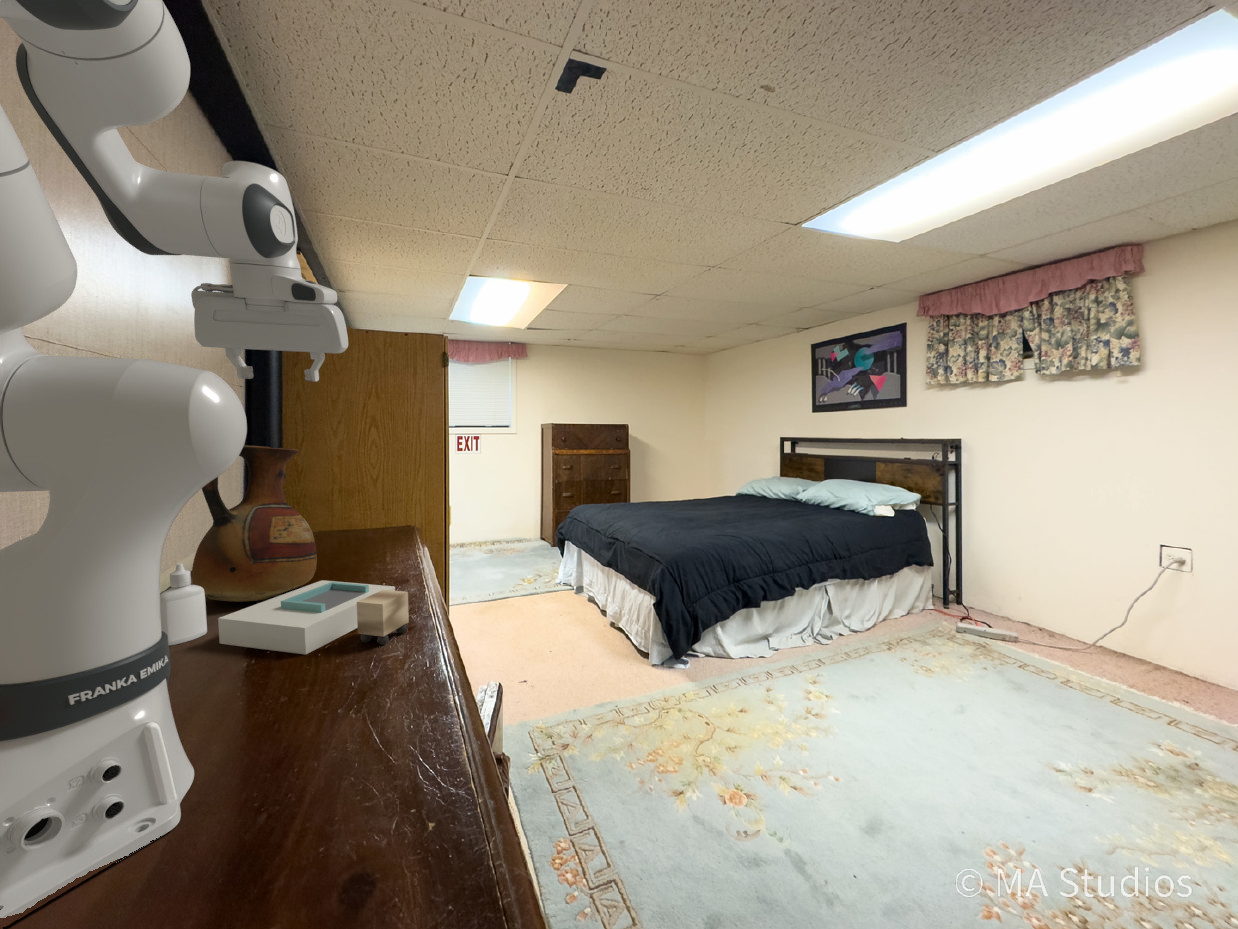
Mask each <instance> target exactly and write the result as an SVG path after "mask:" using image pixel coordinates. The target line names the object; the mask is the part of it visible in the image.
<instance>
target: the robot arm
mask: <svg viewBox="0 0 1238 929" xmlns="http://www.w3.org/2000/svg"><path fill="white" fill-rule="evenodd" d="M0 19H3V20H4V21H5V22H6V23H7V25H8V26H9V27H10V29H11V30H12V31H13V32H14V33H15V35H16V36H17V37H18V39H19V40H20V41H21V43H20V44H19V46H18V48H17V50H16V54H15V67H16V72H17V75H18V78H19V82H20V84H21V87H22V89H23V91H24V93H25V94H26V97H27V99H28V100H29V102H30V104H31V105H32V107H33V109H34V110H35V112H36V113H37V115H38V117H40V119H41V121H42V123H43V124H44V125H45V127H46V128H47V129H48V131H49V132H50V134H51V135H52V136H53V138H54V139H55V141H56V142H57V143H58V145H59V146H60V148H61V149H62V150H63V152H64V153H65V155H66V156H67V157H68V159H69V160H70V162H71V163H72V164H73V166H74V167H75V169H76V170H77V171H78V173H79V174H80V175H81V176H82V178H83V180H84V181H85V182H86V183H87V186H89V188H90V189H91V190H92V192H93V193H94V194H95V196H96V197H97V200H98V201H99V203H100V206H101V207H102V210H103V212H104V214H105V217H106V219H107V221H108V222H109V224H110V225H111V227H112V228H113V230H114V231H115V232H116V233H117V235H119V236H120V237H121V238H122V239H123V240H124V241H126V242H127V243H128V244H130V245H131V246H132V247H133V248H135V249H136V250H138V251H140V252H141V253H143V254H145V255H148V256H195V257H204V258H205V257H206V258H208V257H209V258H218V259H228V261H229V268H230V275H231V276H230V277H231V282H232V284H225V283H224V284H223V283H222V284H221V283H220V284H217V283H215V284H214V283H210V282H203V283H201V284H200V285H198V286H196V287H194V288H193V289H192V291H191V293H190V294H191V302H192V306H193V309H194V318H193V319H194V320H193V321H194V337H195V340H196V342H197V343H199V345H200V346H201V347H204V348H215V349H216V348H217V349H219V348H220V349H224V350H225V356H226V357H227V358H228V360H229V361H230V363H232V365H233V366H234V368H236V372H237V374H236V375H237V377H238V379H241V380H242V379H245V380H247V379H248V380H251V379H253V378H255V377H254V369H253V366H249V365H247V364H246V363H245V361H244V359H242V357H241V356H242V355H243V354H244V351H243V350H260V351H282V352H298V353H299V352H300V353H303V352H304V353H309V355H310V359H311V360H314V361H313V363H312V364H311V367H310V368H308V369H304V370H303V372H304V375H305V376H304V380H305V381H306V382H318V381H319V380H320V374H319V370H320V368H321V367H322V365H323V363H324V362H325V359H326V356H325V355H326V354H342V353H345V351H346V350H347V349H348V347H349V337H348V332H347V331H348V330H347V325H346V321H345V316H344V314H343V312H342V311H341V309H340V308H339V307H338V306H337V305H334V304H336V303H337V302H338V293H337V291H336V290H334V289H332V288H330V287H327V286H325V285H321V284H319V283H316V282H314V281H312V280H307V279H305V278H303V277H302V276H303V275H302V268H301V265H300V261H299V260H298V256H297V255H298V254H297V244H298V242H299V241H298V240H299V237H298V227H297V220H296V215H295V214H296V213H295V208H294V205H293V200H292V196H291V193H290V189H289V185H288V183H287V180H286V178H285V177H284V175H282V174H281V173H280V172H278V171H277V170H275V169H273V168H272V167H269V166H266V165H263V164H261V163H258V162H253V161H247V160H230V161H227V162H225V163H224V164H223V166H222V170H221V171H222V172H221V175H220V176H213V175H211V176H210V175H209V176H208V175H202V174H201V175H200V174H192V173H183V172H176V171H175V172H174V171H166V170H162V169H157V168H154V167H150V166H147V165H145V164H142V163H140V162H139V161H136V160H135V159H134V157H133V155H132V153H131V152H130V150H129V148H128V146H127V145H126V143H125V141H124V140H123V138H122V136H121V135H120V132H119V131H118V129H121V128H128V127H139V126H144V125H148V124H151V123H154V122H155V123H156V122H157V121H159V120H161V119H162V118H163V119H164V117H166V116H168V115H169V114H170V113H172V112H173V111H174V110H175V109H176V108H177V107H178V106H179V105H180V103H181V102H182V101H183V99H184V97H185V96H186V94H187V91H188V89H189V85H190V81H191V80H190V78H191V62H190V58H189V55H188V54H189V53H188V52H187V48H186V44H185V41H184V40H183V37H182V35H181V33H180V31H179V29H178V26H177V25H176V23H175V20H174V18H173V17H172V15H171V13H170V11H169V9H168V8H167V6H166V5H165V2H164V1H163V0H0ZM77 280H78V264H77V261H76V258H75V256H74V254H73V252H72V249H71V247H70V246H69V243H68V241H67V239H66V236H65V235H64V232H63V231H62V228H61V226H60V223H59V222H58V219H57V216H56V215H55V213H54V211H53V209H52V206H51V204H50V202H49V200H48V199H47V196H46V194H45V192H44V189H43V187H42V185H41V183H40V181H39V179H38V177H37V175H36V172H35V170H34V168H33V166H32V163H31V161H30V159H29V157H28V155H27V152H26V151H25V149H24V147H23V144H22V143H21V140H20V138H19V136H18V134H17V132H16V130H15V128H14V126H13V124H12V123H11V120H10V119H9V117H8V115H7V113H6V110H4V108H3V106H2V104H1V103H0V493H12V492H13V493H14V492H15V493H17V492H18V493H19V492H20V493H21V492H42V491H43V492H45V491H46V492H48V493H49V504H48V510H47V513H46V515H45V518H44V521H43V523H42V524H41V526H40V528H39V529H38V531H37V532H36V533H33V534H31V535H29V536H26V537H24V538H22V539H19V540H17V541H15V542H13V543H11V544H9V545H7V546H5V547H4V548H1V549H0V909H1V910H0V918H6V917H7V916H12V915H15V914H19V913H23V912H24V911H25V910H26V909H27V908H31V907H32V906H34V905H35V904H36V903H37V902H38V901H40V900H42V899H44V898H46V897H47V896H48V895H51V894H53V893H55V892H56V891H57V890H58V889H61V888H62V887H64V886H66V885H67V884H68V883H71V882H73V881H74V880H75V879H76V878H79V877H82V876H84V875H86V874H87V873H88V872H89V871H93V870H95V869H98V868H99V867H102V866H104V865H107V864H109V863H110V862H113V861H115V860H117V859H120V858H123V857H124V856H127V857H129V856H130V855H131V854H130V853H132V852H133V853H135V852H137V851H139V850H140V849H142V848H144V847H145V846H147V845H149V844H151V842H150V841H152V840H154V841H155V840H157V839H160V838H161V837H163V836H164V835H166V834H167V833H168V832H170V831H172V830H173V829H174V828H176V827H177V826H178V824H179V823H180V821H181V817H182V812H181V811H182V810H181V803H182V800H183V799H184V798H185V796H186V795H187V792H188V791H189V789H190V788H191V786H192V784H193V782H194V778H195V769H194V767H193V765H192V763H191V761H190V760H189V758H188V756H187V753H186V752H185V750H184V746H183V745H182V742H181V739H180V736H179V734H178V729H177V726H176V723H175V718H174V715H173V711H172V706H171V700H170V694H169V690H168V684H169V679H170V675H171V671H172V670H171V669H172V668H171V656H170V655H171V654H170V646H169V645H168V636H167V634H166V633H165V632H164V631H161V616H160V594H161V565H162V556H163V550H164V548H165V544H166V539H167V537H168V535H169V533H170V530H171V528H172V526H173V525H174V522H175V520H176V518H177V517H178V515H179V514H180V513H181V511H182V510H183V508H184V507H185V505H187V503H188V502H189V501H190V500H191V499H192V498H193V497H194V496H195V495H196V494H197V493H199V491H200V490H202V488H203V487H204V486H205V485H207V484H208V483H209V482H211V481H212V480H214V479H215V478H217V477H218V478H219V477H220V476H221V475H223V474H224V473H225V472H226V471H228V469H229V468H231V467H232V465H233V464H234V463H235V462H236V460H238V458H239V457H240V456H239V454H240V453H241V450H242V448H243V446H244V445H245V443H246V439H247V434H248V423H247V422H248V421H247V416H246V411H245V408H244V407H243V404H242V401H241V400H240V398H239V396H238V395H237V393H236V392H235V391H234V390H233V388H232V387H231V386H230V384H228V383H227V382H226V381H225V380H224V379H223V378H222V377H221V376H219V375H218V374H217V373H215V372H214V371H210V370H206V369H201V368H196V367H191V366H189V365H188V366H187V365H183V364H177V363H173V362H165V361H161V360H153V359H150V358H149V359H148V358H133V357H132V358H130V357H125V358H123V357H101V356H100V357H99V356H98V357H96V356H75V355H73V356H72V355H71V356H70V355H53V354H51V355H50V354H46V353H45V354H44V353H42V352H39V351H38V350H36V349H35V348H34V347H32V345H31V344H29V341H27V338H26V337H25V335H24V332H23V327H25V326H27V325H30V324H32V323H34V322H37V321H38V320H42V319H43V318H46V317H47V316H49V315H50V314H52V313H54V312H55V311H57V310H58V309H60V308H61V307H62V306H63V305H64V304H65V303H66V302H67V301H68V300H69V299H71V297H72V295H73V293H74V292H75V291H74V290H75V288H76V285H77ZM325 353H326V354H325ZM160 836H161V837H160ZM156 838H157V839H156ZM152 842H153V841H152ZM143 846H144V847H143ZM141 847H142V848H141ZM139 848H140V849H139ZM138 849H139V850H138ZM136 850H137V851H136ZM134 851H135V852H134ZM133 853H132V854H133ZM129 854H130V855H129ZM123 859H124V858H123Z"/></svg>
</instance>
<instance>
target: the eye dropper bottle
mask: <svg viewBox="0 0 1238 929" xmlns="http://www.w3.org/2000/svg"><path fill="white" fill-rule="evenodd" d="M175 566H176V567H175V570H174V571H173V572H171V573H170V574H169V581H170V588H168V589H166V590H164V591H163V592H162V593H160V616H161V631H164V632H165V633H166V634H167V636H168V645H169V647H171V646H175V645H179V644H184V643H188V642H190V641H194V640H196V639H198V638H201V637H204V636H205V635H206V634H207V633H208V623H207V622H208V621H207V605H206V596H205V592H204V589H203V588H202V587H201V586H197V585H193V584H192V574H191V571H190V570H187V569H185V567H184V564H183V563H176V565H175Z"/></svg>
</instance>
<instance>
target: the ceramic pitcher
mask: <svg viewBox="0 0 1238 929" xmlns="http://www.w3.org/2000/svg"><path fill="white" fill-rule="evenodd" d="M298 453H299V449H294V448H283V447H279V448H278V447H276V448H273V447H270V446H260V445H259V446H258V445H249V444H248V445H245V444H244V446H243V448H242V450H241V453H240V454H239V456H238V457H241V458H242V459H244V461H245V462H246V465H247V470H248V476H247V477H248V478H247V480H248V482H247V488H246V491H245V494H244V496H243V498H242V500H241V501H240V503H238V504H236V505H235V506H233V507H231V508H229V509H228V507H226V506H227V505H226V504H225V503H224V500H223V499H222V497H221V493H220V491H219V476H218V477H217V478H215V479H214V480H212V481H211V482H209V483H208V484H207V485H205V486H204V487H203V488H201V491H202V493H203V497H204V499H205V502H206V504H207V507H208V511H209V513H210V515H211V518H212V521H213V522H212V525H211V527H210V528H209V529H208V531H206V533H205V535H204V536H203V538H202V539H201V541H200V543H199V545H198V547H197V549H196V551H195V554H194V557H193V558H194V559H193V563H192V567H191V583H192V585H197V586H201V587H202V588H203V589H204V592H205V598H208V599H209V600H215V601H222V602H223V601H224V602H235V603H237V602H239V603H240V602H241V603H242V602H259V601H266V600H269V599H271V598H272V597H273V598H274V597H278V596H280V595H282V594H283V593H285V592H288V591H291V590H294V589H297V588H299V587H303V585H305V584H308V583H309V582H310V581H311V580H312V579H313V578H314V575H315V573H316V571H317V570H316V569H317V564H318V563H317V562H318V555H317V554H318V552H317V545H316V539H315V537H314V534H313V531H312V528H311V527H310V525H309V523H308V522H307V521H306V519H305V518H304V517H303V515H301V514H300V513H299V511H298V510H296V509H295V508H294V507H292V506H291V505H290V504H289V503H288V502H287V498H286V495H285V492H284V485H285V483H286V481H287V480H286V479H287V478H286V476H287V475H286V474H287V473H286V466H287V464H288V462H290V460H291V459H292V458H293V457H294V456H296V455H297V454H298Z"/></svg>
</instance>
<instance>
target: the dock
mask: <svg viewBox="0 0 1238 929" xmlns="http://www.w3.org/2000/svg"><path fill="white" fill-rule="evenodd" d="M382 590H392V591H396V586H393V585H392V586H391V585H379V584H369V583H358V582H348V581H347V582H346V581H345V582H344V581H335V580H319V581H316V582H313V583H311V584H308V585H305V586H301V587H300V588H299V587H298V589H297V588H296V589H295V590H294V589H293V590H292V591H291V590H290V591H289V592H288V591H287V592H286V593H284V594H283V593H282V594H281V595H280V594H279V595H277V596H274V597H273V598H272V597H271V598H268V599H266V600H263V601H261V602H257V603H256V604H253V605H250V606H247V607H245V608H241V609H240V610H237V611H234V612H231V613H229V614H226V615H223V616H219V617H217V621H218V637H219V638H218V639H219V644H221V645H227V646H236V647H243V648H253V649H259V650H268V651H275V652H276V651H277V652H281V653H282V652H283V653H291V654H299V655H308V654H309V653H312V652H313V651H315V650H317V649H319V648H321V647H323V646H325V645H328V644H329V643H331V642H333V641H335V640H336V639H339V638H340V637H342V636H345V635H346V634H348V633H350V632H352V631H354V630H356V629H358V625H357V601H360V600H362V599H364V598H366V597H368V596H371V595H373V594H375V593H377V592H379V591H382Z"/></svg>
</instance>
